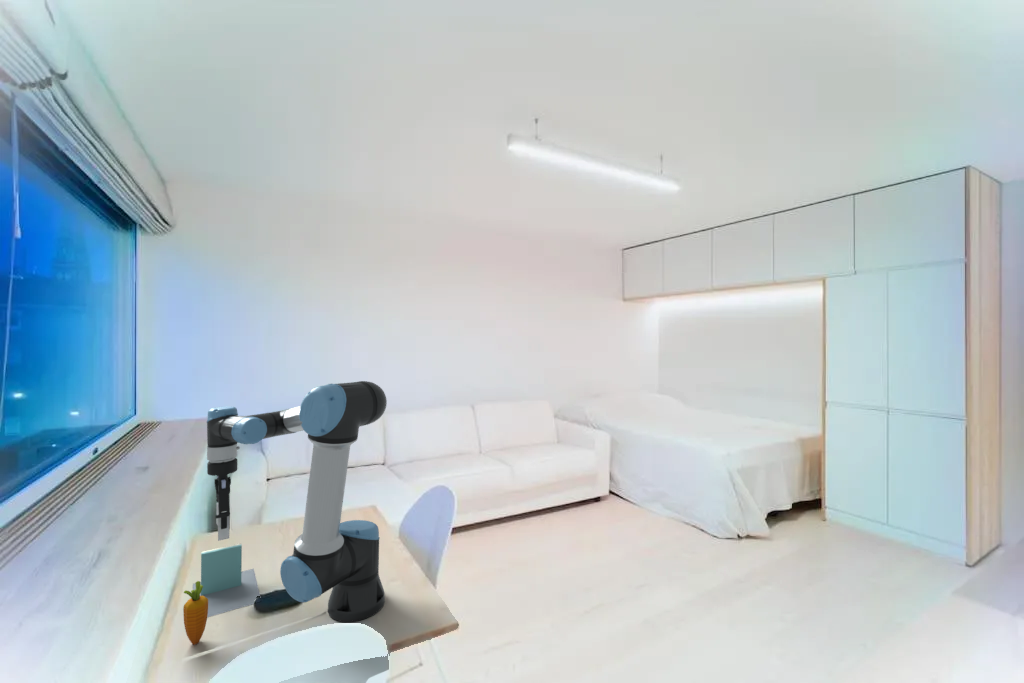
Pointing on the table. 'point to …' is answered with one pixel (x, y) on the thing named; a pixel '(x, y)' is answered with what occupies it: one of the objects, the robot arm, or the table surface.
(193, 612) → the carrot
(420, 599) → the table surface
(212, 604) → the mat
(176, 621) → the table surface
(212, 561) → the board
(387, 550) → the table surface
